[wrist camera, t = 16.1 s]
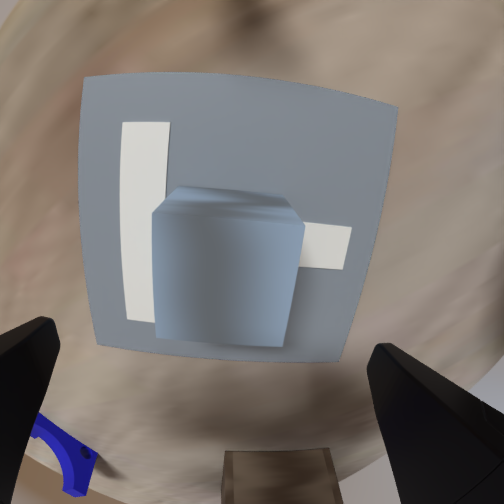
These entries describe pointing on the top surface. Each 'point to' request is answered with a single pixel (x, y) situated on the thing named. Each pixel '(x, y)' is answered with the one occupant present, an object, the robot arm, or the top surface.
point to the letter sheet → (232, 178)
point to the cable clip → (67, 455)
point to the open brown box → (280, 478)
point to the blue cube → (224, 266)
